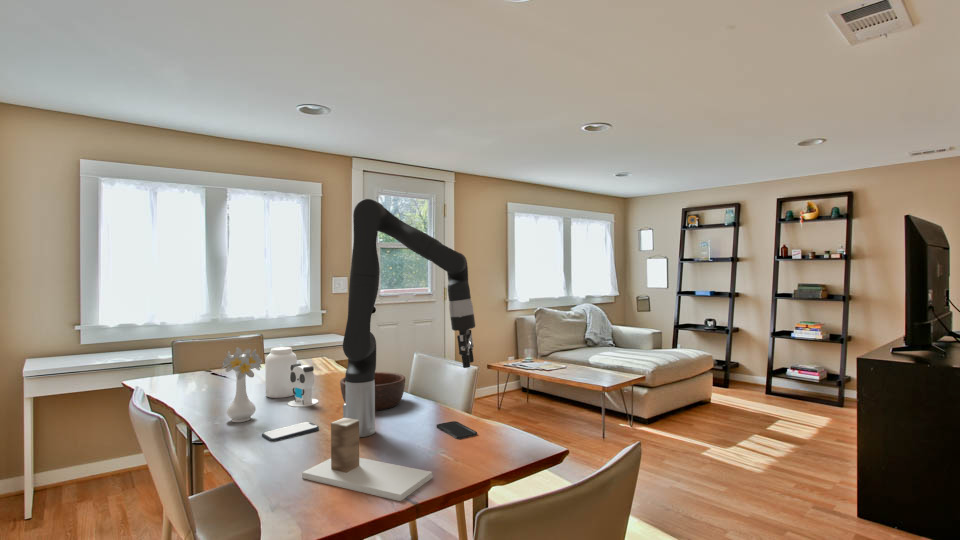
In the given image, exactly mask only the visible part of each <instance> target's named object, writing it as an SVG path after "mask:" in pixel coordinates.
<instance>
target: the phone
mask: <svg viewBox="0 0 960 540" xmlns="http://www.w3.org/2000/svg"><path fill="white" fill-rule="evenodd" d="M435 427H436V429H438V430H439V431H441V432H443V433H445V434H446V435H447V436H448V435H449V436H450V437H452V438H454V439H456V440H463V439H467V438H471V437H472V438H473V437H476V436H478V432H477V431H476V430H474V429H472V428H470V427H468V426H466V425H465V424H463V423H460V422H459V421H455V420H452V421H448V422H442V423H438V424H436V426H435Z"/></svg>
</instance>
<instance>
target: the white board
mask: <svg viewBox="0 0 960 540" xmlns="http://www.w3.org/2000/svg"><path fill="white" fill-rule="evenodd" d="M301 478H302V479H303V480H308V481H312V482H317V483H322V484H325V485H329V486H334V487H338V488H342V489H343V488H344V489H346V490H351V491H355V492H359V493H365V494H368V495H373V496H377V497H381V498H385V499H389V500H394V501H399V502H402V501H403V500H404V499H406V498H407V497H408V496H410V495H411V494H412V493H414V492H415V491H417V490H418V489H419V488H420V487H422V486H423V485H425V484H426V483H428V481H430V480H431V479H433V471H428V470H425V469H419V468H415V467H414V468H413V467H408V466H403V465H398V464H394V463H388V462H383V461H378V460H374V459H369V458H364V457H359V466H358V467H356V468H354V469H353V470H351V471H349V472H347V473H345V472H341V471H336V470H331V457H330V458H328V459H326V460H324V461H322V462H321V463H320V462H319V464H315V465H314V466H312V467H310V468H308V469H306V470H304V471H302V472H301Z"/></svg>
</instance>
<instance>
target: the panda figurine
mask: <svg viewBox="0 0 960 540" xmlns="http://www.w3.org/2000/svg"><path fill="white" fill-rule="evenodd" d="M290 369H291V371H292V372H291V375H290V380H291V382H292V385H293V387H294V388H293V393H294V394H295V395H294V399H293V400H290V401H289V402H288V403H287V406H288V407H292V408H305V407H311V406H315V405H317V404H318V403H319V400H318V398H317V399H316V398H313V387H314V383H315V376H314V370H315V369H314V366H313V365H310V366H309V365H306V364H305V365H303V364H301V363H297V364H293V365H291V367H290Z"/></svg>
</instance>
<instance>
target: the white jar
mask: <svg viewBox="0 0 960 540" xmlns="http://www.w3.org/2000/svg"><path fill="white" fill-rule="evenodd" d="M269 351H270V352H269V354H268V355H266V358H265V362H264V363H265V364H264V365H265V396H266V397H267V398H271V399H281V398H282V399H283V398H284V399H285V398H288V397H292V396H295V394H294V393H293V388H294V387H293V385H292V382H291V380H290V375H291V372H292V371H291V369H290V367H291V365H293V364H298V357H297V354H296V353H295V352H293V348H292V347H291V346H278V347H277V346H276V347H272V348H271V349H270V350H269Z"/></svg>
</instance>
